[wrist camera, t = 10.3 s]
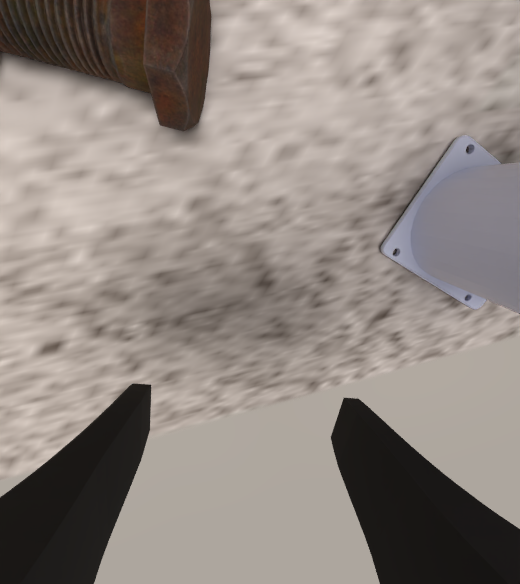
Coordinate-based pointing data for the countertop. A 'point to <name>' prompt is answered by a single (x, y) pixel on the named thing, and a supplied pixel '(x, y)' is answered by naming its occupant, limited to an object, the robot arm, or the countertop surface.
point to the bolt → (121, 45)
